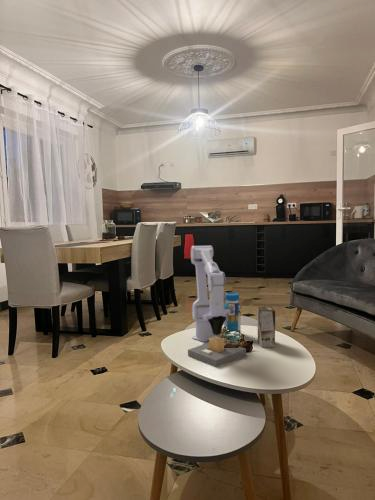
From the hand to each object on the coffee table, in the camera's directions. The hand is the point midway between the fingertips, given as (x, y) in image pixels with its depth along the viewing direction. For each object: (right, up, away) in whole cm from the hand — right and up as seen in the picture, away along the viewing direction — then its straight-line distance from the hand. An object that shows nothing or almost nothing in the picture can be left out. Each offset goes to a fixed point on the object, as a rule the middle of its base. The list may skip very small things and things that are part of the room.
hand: (216, 334), depth 148 cm
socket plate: (0, -9, +1) cm, 9 cm away
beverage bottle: (+10, -7, +28) cm, 31 cm away
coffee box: (+23, -8, +14) cm, 28 cm away
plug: (0, -9, +1) cm, 9 cm away
